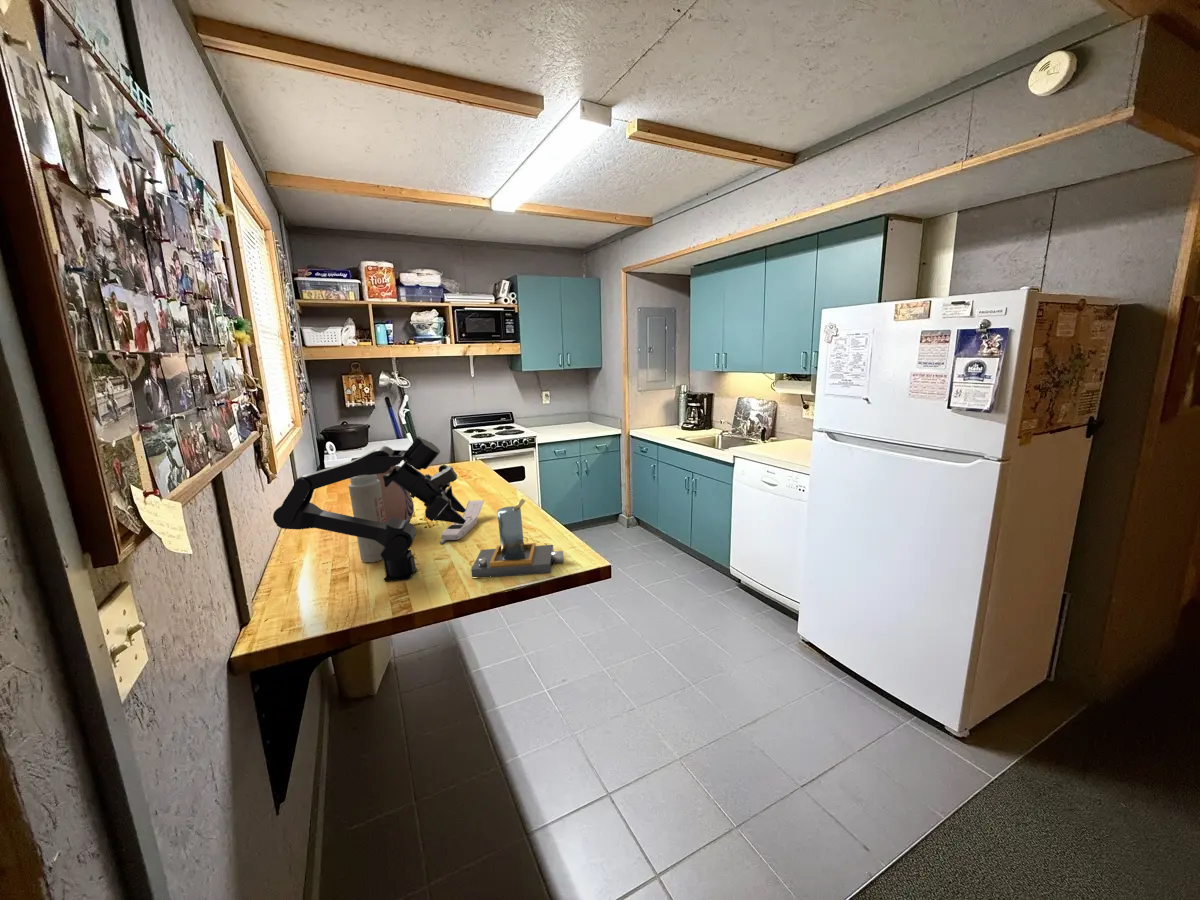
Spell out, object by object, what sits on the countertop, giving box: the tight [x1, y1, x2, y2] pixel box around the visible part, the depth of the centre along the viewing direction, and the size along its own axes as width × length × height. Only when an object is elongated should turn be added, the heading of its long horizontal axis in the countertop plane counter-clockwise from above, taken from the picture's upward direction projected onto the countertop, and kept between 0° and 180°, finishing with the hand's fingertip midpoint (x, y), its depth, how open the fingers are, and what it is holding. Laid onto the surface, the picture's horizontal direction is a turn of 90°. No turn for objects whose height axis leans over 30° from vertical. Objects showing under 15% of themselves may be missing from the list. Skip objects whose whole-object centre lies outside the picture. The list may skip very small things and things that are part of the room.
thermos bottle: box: [348, 474, 386, 563], centre depth 135 cm, size 8×8×28 cm
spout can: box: [496, 498, 526, 560], centre depth 124 cm, size 7×6×16 cm
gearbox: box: [470, 542, 565, 578], centre depth 126 cm, size 23×12×4 cm, turn 92°
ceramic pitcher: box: [376, 459, 415, 523], centre depth 156 cm, size 18×21×25 cm
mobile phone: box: [439, 499, 485, 544], centre depth 155 cm, size 6×6×25 cm
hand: (464, 516), depth 126 cm, fingers open, 9 cm apart
